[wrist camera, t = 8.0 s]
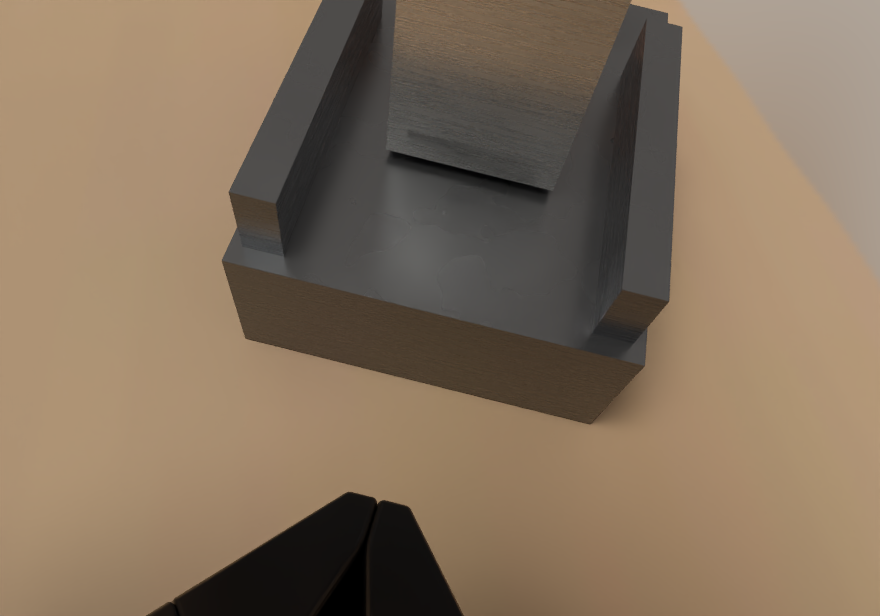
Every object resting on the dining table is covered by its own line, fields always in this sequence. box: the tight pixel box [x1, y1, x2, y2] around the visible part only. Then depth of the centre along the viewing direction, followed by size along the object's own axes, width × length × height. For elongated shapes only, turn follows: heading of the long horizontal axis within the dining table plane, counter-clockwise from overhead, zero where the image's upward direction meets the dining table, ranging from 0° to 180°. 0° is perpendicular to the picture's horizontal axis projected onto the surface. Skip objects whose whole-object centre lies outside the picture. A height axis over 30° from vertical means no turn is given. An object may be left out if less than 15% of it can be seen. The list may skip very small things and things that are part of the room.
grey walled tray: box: [222, 0, 682, 424], centre depth 19 cm, size 13×10×6 cm
